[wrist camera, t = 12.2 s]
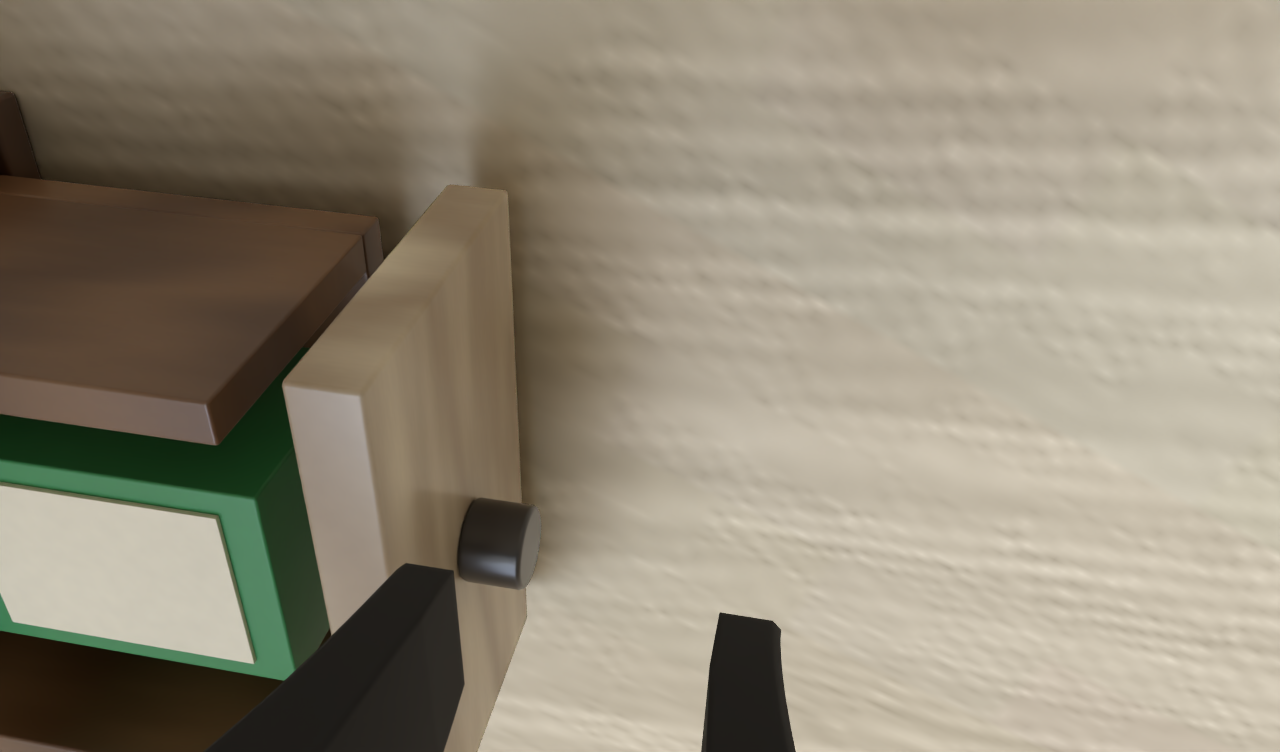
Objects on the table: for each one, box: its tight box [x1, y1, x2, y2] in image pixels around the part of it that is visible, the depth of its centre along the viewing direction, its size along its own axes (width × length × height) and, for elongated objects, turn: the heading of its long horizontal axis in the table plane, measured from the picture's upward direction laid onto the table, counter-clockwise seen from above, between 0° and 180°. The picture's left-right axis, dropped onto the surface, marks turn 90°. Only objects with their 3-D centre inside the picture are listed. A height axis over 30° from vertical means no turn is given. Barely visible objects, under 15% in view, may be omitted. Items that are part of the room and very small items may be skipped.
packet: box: [0, 347, 330, 681], centre depth 21 cm, size 5×6×5 cm
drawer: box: [0, 175, 541, 752], centre depth 21 cm, size 14×11×7 cm
